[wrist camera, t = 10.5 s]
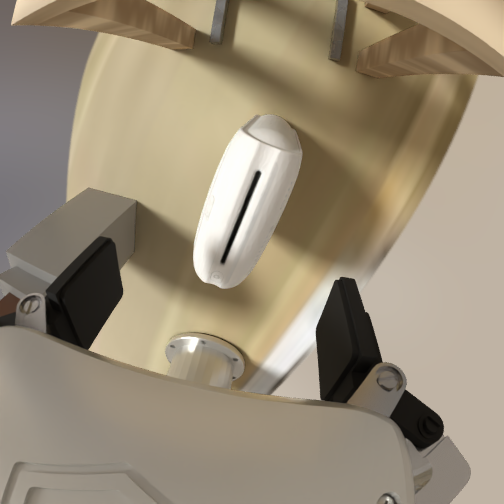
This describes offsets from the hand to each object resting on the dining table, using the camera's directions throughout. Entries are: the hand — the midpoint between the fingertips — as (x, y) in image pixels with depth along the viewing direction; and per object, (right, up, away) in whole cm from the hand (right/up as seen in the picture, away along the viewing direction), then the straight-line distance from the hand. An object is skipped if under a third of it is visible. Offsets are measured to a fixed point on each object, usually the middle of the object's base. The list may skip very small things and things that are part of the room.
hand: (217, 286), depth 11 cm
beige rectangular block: (-15, +5, +18) cm, 24 cm away
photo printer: (+2, +9, +13) cm, 16 cm away
